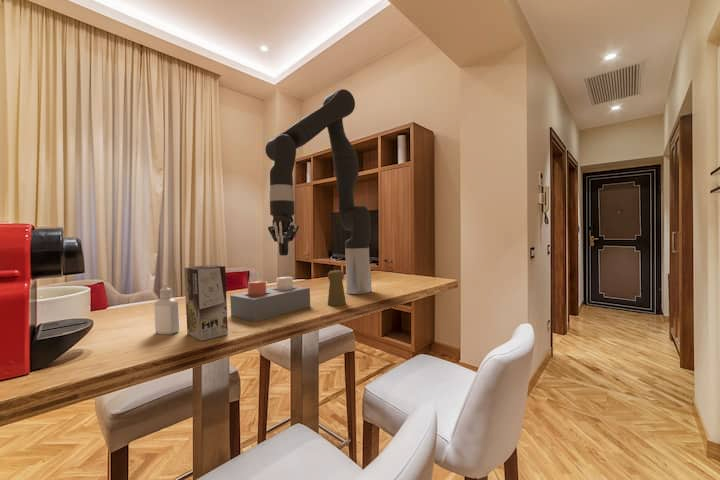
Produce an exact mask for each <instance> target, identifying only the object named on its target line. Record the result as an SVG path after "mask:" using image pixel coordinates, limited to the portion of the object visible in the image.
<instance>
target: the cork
mask: <svg viewBox="0 0 720 480" xmlns="http://www.w3.org/2000/svg"><path fill="white" fill-rule="evenodd" d="M344 277H345V275H344V271H342V270H339V269H337V270H335V269H334V270H330V271H329V272H328V273H327V278H328V279H327V280H329V287H328V288H329V289H328V296H327V297H328V298H327V306H329V307H342V306H345V305H347V302H346V296H345V288H344V284H343V280H344Z"/></svg>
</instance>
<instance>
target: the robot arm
mask: <svg viewBox="0 0 720 480" xmlns="http://www.w3.org/2000/svg"><path fill="white" fill-rule="evenodd" d="M355 108H356V101H355V97H354V95H353V94H352V93H351V92H350V91H349V90H348V89H343V88H341V89H338V90H335V91H333V92H331V94H329V95H327V96H326V97H325V98H324V100H323V101H322V106H321V107H320V108H318V109H316V110H314V111H313V112H311V113H309V114H307V115H306V116H304V117H302V118H301V119H300V120H298V121H296V122H295V123H294V124H292V125H291V126H290V127H288V129H286V130H285V131H283V132H281V133H280V134H278V135H277V136H275V137H273V138H271V139H270V140H269V141H268V142H267V143H266V146H265V154H266V156H267V158H269V160H271V161H273V162H274V163H273V166H272V167H271V168H270V170H269V215H270V216H271V217H272V224H271V226H269V225H268V227H267V230H268V232H269V233H270V235H271V237H272V240H273V241H274V242H277V244H278V252H279V256H284V257H285V256H288V254H289V243H290V242H293V240H294V238H295V237H296V235H297V232H298V230H299V227H300V226H299V224H295V223H294V218H293V216H294V215H295V213H296V212H295V191H294V176H293V172H294V168H295V162H296V157H297V156H296V155H297V149H299V148H300V147H303V146H305V145H306V144H307V143H309V142H310V141H311V140H313V139H314V138H315V137H317V136H318V135H319V134H320V133H322V131H324V130H325V129H326V128H327V132H328V137H329V142H330V148H331V153H332V154H331V155H332V161H333V163H332V164H333V168H334V174H335V180H336V188H337V196H338V212H339V213H338V215H339V222H340V224H341V226H342V228H343V229H344V230H345V231H349V232H351V231H352V234H351V236H350V238H348V239H347V240H346V241H344V250H345V256H344V257H345V278H346V279H345V282H346V283H345V285H346V287H345V288H346V293H347V294H350V295H366V294H369V293H371V292H372V291H373V290H372V289H373V288H372V266H370V265H371V264H370V242H371V235H372V233H371V231H372V229H371V226H372V218H371V217H372V216H371V212H370V210H369V208H367V207H366V206H364V205H356V206H355V199H354V192H355V187H356V184H357V181H358V179H359V178H358V177H359V173H360V170H359V169H360V167H359V161H358V154H357V152H356V151H357V150H355V148H354V146H353V145H352V143H351V142H350V141H349V139H348V137H347V135H346V133H345V130H344V122H343V120H344V119H345V118H346V117H348V116H350V115H351V114H352V113H353V112H354V110H355Z"/></svg>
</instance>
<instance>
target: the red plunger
mask: <svg viewBox="0 0 720 480" xmlns="http://www.w3.org/2000/svg"><path fill="white" fill-rule="evenodd" d="M266 289H267V282H266V281H264V280H256V281H254V280H253V281H249V282H247V292H248V296H251V297H257V296H262V295H266Z"/></svg>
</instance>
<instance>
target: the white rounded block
mask: <svg viewBox="0 0 720 480" xmlns="http://www.w3.org/2000/svg"><path fill="white" fill-rule="evenodd" d="M293 286H294V277H293V276H280V277H279V276H278V277H276V287H277V290H279V291H286V290H291V289H293Z"/></svg>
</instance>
